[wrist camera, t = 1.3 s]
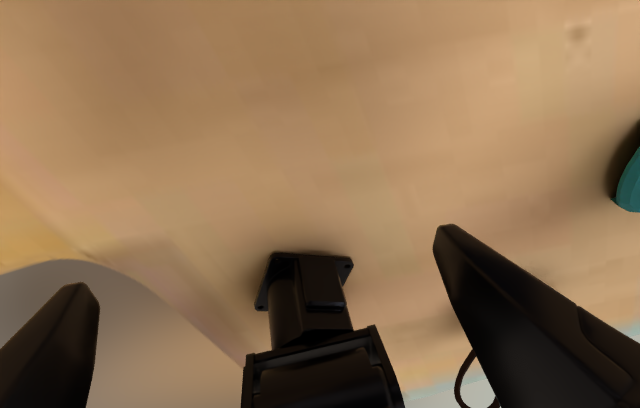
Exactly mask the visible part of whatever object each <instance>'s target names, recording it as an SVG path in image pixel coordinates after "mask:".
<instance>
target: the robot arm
mask: <svg viewBox="0 0 640 408" xmlns="http://www.w3.org/2000/svg"><path fill="white" fill-rule="evenodd" d="M433 254H434V257H435V260H436V263H437V266H438V269H439V271H440V274H441V277H442V280H443V283H444V286H445V288H446V291H447V294H448V297H449V299H450V302H451V305H452V307H453V309H454V311H455V313H456V315H457V317H458V319H459V321H460V324H461V326H462V328H463V330H464V332H465V334H466V336H467V338H468V340H469V342H470V344H471V346H472V348H473V350H474V352H475V354H476V356H477V359H478V361H479V363H480V365H481V367H482V369H483V371H484V373H485V375H486V377H487V379H488V381H489V383H490V385H491V387H492V389H493V391H494V393H495V395H496V398H497V400H498V402H499V404H500V406H501V408H640V343H638V342H636V341H634V340H633V339H631V338H629V337H628V336H626V335H624V334H623V333H621V332H619V331H617V330H616V329H614V328H613V327H611V326H610V325H608V324H606V323H605V322H603V321H602V320H600V319H598V318H597V317H595V316H594V315H592V314H591V313H589V312H588V311H586V310H585V309H583V308H582V307H580V306H577V305H576V304H575V303H574V302H572V301H571V300H569V299H568V298H566V297H565V296H563V295H562V294H560V293H559V292H557V291H555V290H554V289H552V288H551V287H549V286H548V285H546V284H545V283H543V282H542V281H540V280H539V279H537V278H536V277H534V276H533V275H531V274H530V273H528V272H527V271H525V270H524V269H522V268H520V267H519V266H517V265H516V264H514V263H513V262H511V261H510V260H508V259H507V258H505V257H504V256H502V255H501V254H499V253H498V252H496V251H495V250H493V249H492V248H490V247H489V246H487V245H485V244H484V243H482V242H481V241H479V240H478V239H476V238H475V237H473V236H472V235H470V234H469V233H467V232H466V231H464V230H463V229H461V228H460V227H458V226H457V225H455V224H446V225H440V226H439V227H438V228H437V231H436V235H435V239H434V243H433ZM276 259H278V260H276ZM353 266H354V264H353V261H352V259H350V258H342V257H329V256H316V255H303V254H290V253H273V254H272V255H271V256H270V258H269V261H268V264H267V266H266V269H265V272H264V275H263V278H262V281H261V284H260V287H259V290H258V293H257V296H256V299H255V302H254V307H255V310H257V311H268V314H269V324H270V335H271V346H272V350H271V351H266V352H262V353H258V354H255V353H252V354H247V355H246V365H245V367H244V369H243V383H242V396H241V408H405V405H404V401H403V398H402V394H401V390H400V387H399V384H398V381H397V378H396V375H395V373H394V370H393V368H392V365H391V363H390V360H389V358H388V355H387V353H386V351H385V348H384V346H383V343H382V341H381V338H380V336H379V333H378V331H377V328H376V326H375V325H371V326H367V328H364V329H360V330H355V331H354V330H353V326H352V323H351V319H350V316H349V312H348V308H347V302H346V299H345V295H344V292H343V288H342V287H343V285H344V283H345V281H346V279H347V277H348V276H349V274H350V272H351V270H352V268H353ZM99 314H100V306H99V302H98V300H97V299H96V297H95V296H94V295H93V293H92V292H91V290H90V289H89V287H88V286H87V285H86V284H85V283H83V282H78V283H71V284H67V285H64V286H63V287H61V288H60V289H59V290H58V291H57V292H56V293H55V294H54V295H53V296H52V297H51V299H50V300H48V301H47V302H46V304H44V306H43V307H42V308H40V310H39V311H38V312H37V313H36V314H35V315H34V316H33V317H32V318H31V319H30V320H29V321H28V322H27V323H26V324H25V325H24V326H23V327H22V328H21V329H20V330H19V331H18V332H17V333H16V334H15V335H14V336H13V337H12V338H11V339H10V340H9V341H8V342H7V343H6V344H5V345H4V346H3V347H2V348H1V349H0V408H86V404H87V399H88V395H89V390H90V386H91V381H92V376H93V370H94V364H95V355H96V345H97V335H98V325H99V324H98V323H99Z"/></svg>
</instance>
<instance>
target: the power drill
mask: <svg viewBox="0 0 640 408" xmlns="http://www.w3.org/2000/svg"><path fill="white" fill-rule="evenodd" d="M611 200H612V201H613V202H614V203H615V204H617V205H618V206H619V207H621V208H623V209H625V210H627V211H629V212H640V147H639V148H638V149H637V151H636V152H635V154H634V155H633V157H632V158H631V160H630V161H629V163H628V164H627V166H626V168H625V170H624V172H623V174H622V176H621V178H620V181H619V184H618V187H617V194H616V197H615V198H611Z"/></svg>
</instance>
